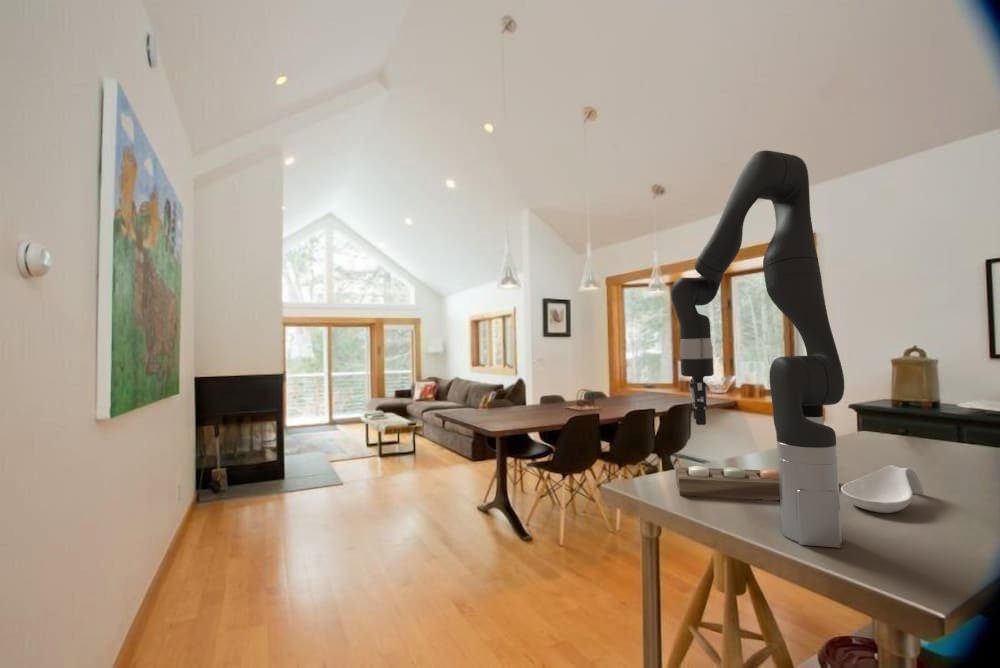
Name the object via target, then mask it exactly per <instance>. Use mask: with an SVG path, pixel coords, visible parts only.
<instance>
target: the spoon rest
mask: <svg viewBox="0 0 1000 668" xmlns="http://www.w3.org/2000/svg"><path fill="white" fill-rule="evenodd" d="M840 492H841V494H842V495H843V496H844V497H845V499H847V501H849V502H850V503H851V504H853V505H854V506H856V507H858V508H861V509H863V510H865V511H868V512H874V513H878V514H893V513H896V512H900V511H902V510H903V509H905V508H907V507H908V506H909V504H910V503H911V501H912V499H913V494H914V495H918V496H923V495H924V488H923V484H922V482H921V479H920V478H919V476H918V474H917V473H916V472H915V471H914V470H913V469H912V468H910V467H898V466H896V465H892V464H891V465H886V466H884V467H882V468H880V469H878V470H875V471H873V472H871V473H869V474H867V475H864V476H861V477H859V478H856V479H854V480H852V481H849V482H847V483H845V484H843V485H841V487H840Z"/></svg>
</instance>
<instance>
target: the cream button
mask: <svg viewBox="0 0 1000 668" xmlns="http://www.w3.org/2000/svg"><path fill="white" fill-rule="evenodd" d="M688 468H689V476H698V477H709V469H708V468H709V467H705V466H696V465H695V466H694V465H693V466H689V467H688Z"/></svg>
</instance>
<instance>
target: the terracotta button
mask: <svg viewBox="0 0 1000 668" xmlns="http://www.w3.org/2000/svg"><path fill="white" fill-rule="evenodd" d="M759 470H760V477H761V479H772V480H779V473H778V469H773V468H762V469H759Z"/></svg>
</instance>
